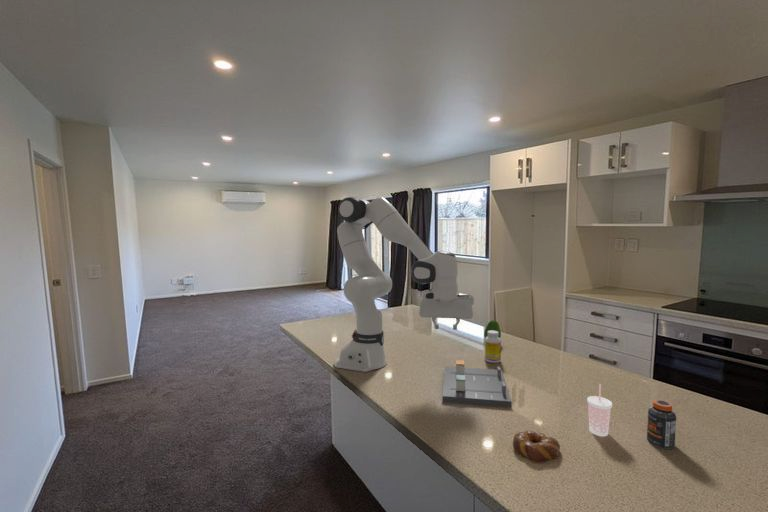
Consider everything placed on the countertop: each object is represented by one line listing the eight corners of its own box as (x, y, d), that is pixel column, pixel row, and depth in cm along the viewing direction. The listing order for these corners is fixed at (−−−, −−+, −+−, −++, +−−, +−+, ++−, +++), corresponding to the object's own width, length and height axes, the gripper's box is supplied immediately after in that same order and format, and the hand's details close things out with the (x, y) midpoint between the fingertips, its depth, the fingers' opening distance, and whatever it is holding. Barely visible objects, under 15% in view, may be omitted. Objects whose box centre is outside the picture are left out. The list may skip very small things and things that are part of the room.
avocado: (504, 344, 177) (504, 320, 176) (493, 347, 172) (493, 323, 171) (491, 340, 183) (491, 317, 182) (480, 343, 179) (480, 319, 178)
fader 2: (456, 390, 122) (456, 379, 122) (456, 385, 126) (456, 374, 126) (465, 391, 122) (465, 379, 122) (464, 386, 126) (465, 375, 125)
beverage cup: (601, 440, 97) (603, 390, 96) (581, 428, 103) (582, 381, 102) (616, 434, 99) (618, 386, 98) (595, 423, 105) (597, 377, 104)
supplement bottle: (501, 364, 152) (501, 334, 151) (485, 363, 153) (485, 333, 152) (499, 358, 158) (500, 329, 157) (484, 357, 160) (484, 329, 159)
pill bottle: (641, 437, 98) (642, 397, 97) (661, 436, 99) (663, 396, 98) (659, 450, 92) (661, 408, 91) (681, 449, 93) (683, 407, 92)
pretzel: (548, 438, 99) (548, 425, 99) (570, 463, 88) (570, 449, 88) (505, 439, 99) (505, 426, 98) (522, 465, 88) (522, 451, 87)
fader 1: (456, 374, 136) (456, 363, 136) (456, 370, 140) (456, 360, 140) (464, 374, 136) (464, 364, 135) (464, 370, 139) (464, 360, 139)
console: (442, 401, 120) (442, 387, 119) (445, 371, 145) (445, 359, 145) (511, 407, 115) (511, 392, 115) (501, 374, 141) (501, 362, 140)
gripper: (473, 292, 138) (473, 327, 139) (420, 291, 142) (420, 325, 143) (474, 295, 131) (474, 332, 132) (418, 294, 135) (418, 330, 136)
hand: (445, 329), depth 138 cm, fingers open, 5 cm apart
